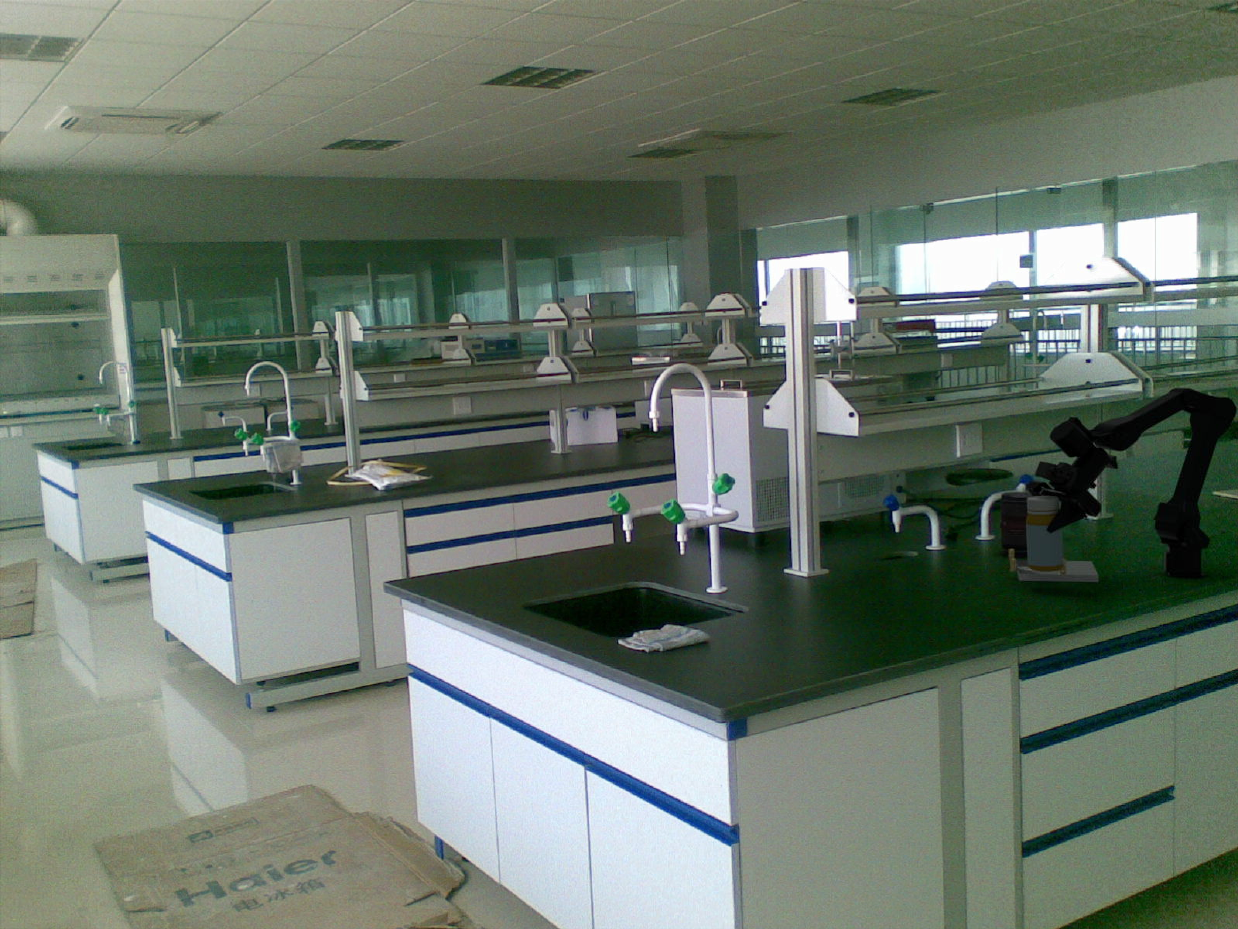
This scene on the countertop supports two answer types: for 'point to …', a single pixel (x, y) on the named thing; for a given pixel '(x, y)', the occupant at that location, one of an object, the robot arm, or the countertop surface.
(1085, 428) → the robot arm
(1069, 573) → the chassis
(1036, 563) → the bottle
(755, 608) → the countertop surface
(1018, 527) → the camera lens
